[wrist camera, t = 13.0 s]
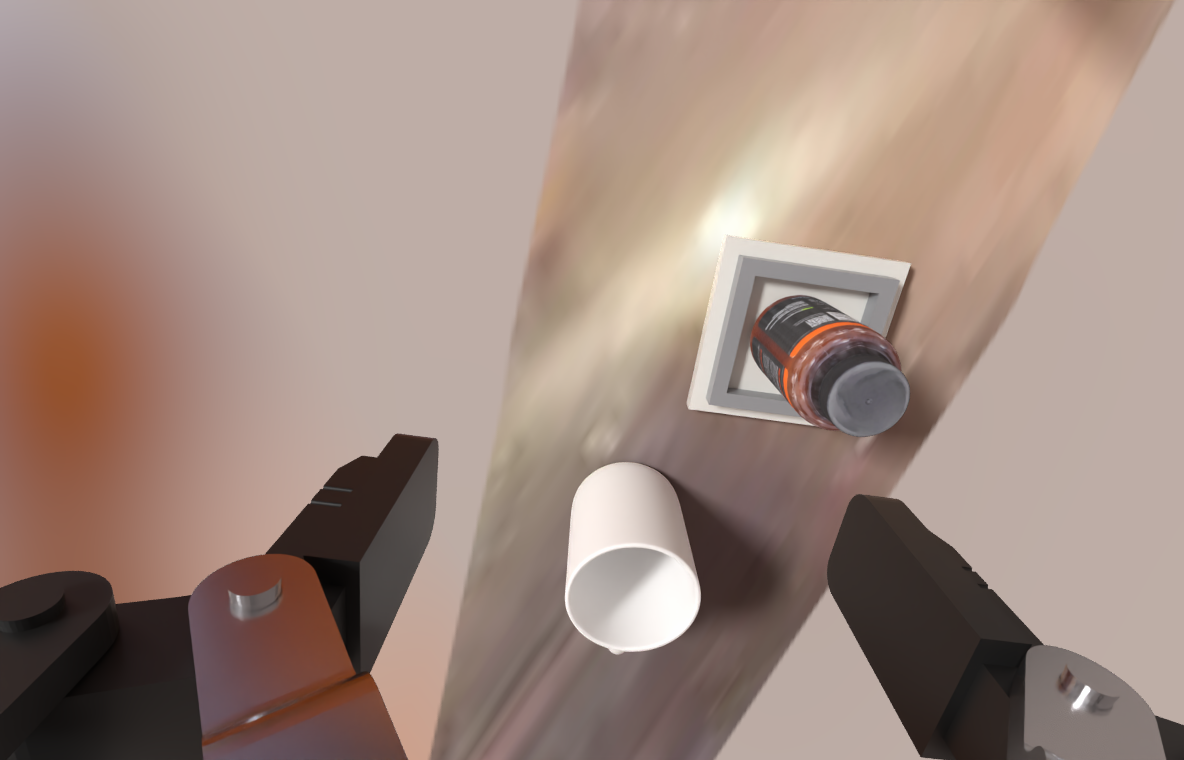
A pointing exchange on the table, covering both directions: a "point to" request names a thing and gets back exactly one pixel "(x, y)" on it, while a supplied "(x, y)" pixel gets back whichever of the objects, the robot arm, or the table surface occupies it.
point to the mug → (630, 560)
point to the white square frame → (754, 283)
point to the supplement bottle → (830, 366)
